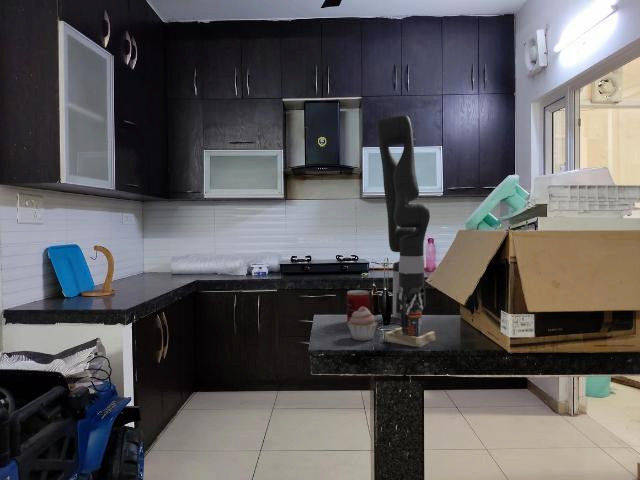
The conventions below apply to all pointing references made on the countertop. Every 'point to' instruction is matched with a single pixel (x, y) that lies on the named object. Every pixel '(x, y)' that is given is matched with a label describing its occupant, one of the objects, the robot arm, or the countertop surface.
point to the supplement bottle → (413, 322)
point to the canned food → (356, 301)
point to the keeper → (409, 338)
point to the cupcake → (362, 325)
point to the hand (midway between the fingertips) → (411, 324)
